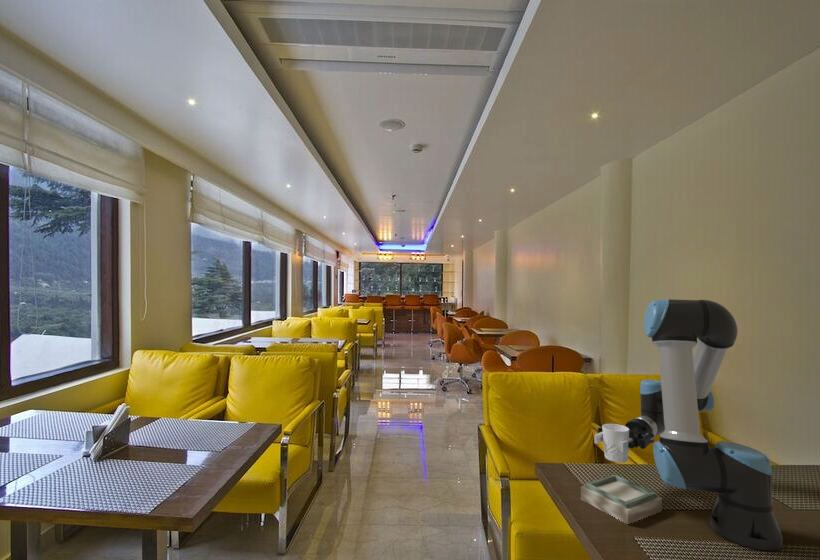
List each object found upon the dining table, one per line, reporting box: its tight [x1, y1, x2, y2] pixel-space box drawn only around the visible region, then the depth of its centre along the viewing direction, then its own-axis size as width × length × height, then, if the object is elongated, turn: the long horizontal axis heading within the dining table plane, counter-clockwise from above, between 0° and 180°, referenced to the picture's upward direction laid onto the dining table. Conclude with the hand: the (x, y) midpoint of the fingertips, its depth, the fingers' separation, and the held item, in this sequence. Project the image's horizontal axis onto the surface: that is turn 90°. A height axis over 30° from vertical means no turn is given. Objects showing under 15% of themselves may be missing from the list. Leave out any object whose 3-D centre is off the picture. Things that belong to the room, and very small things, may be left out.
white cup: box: [601, 423, 630, 464], centre depth 129 cm, size 8×8×10 cm
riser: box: [580, 474, 663, 525], centre depth 124 cm, size 16×16×5 cm
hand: (608, 443), depth 126 cm, fingers closed on white cup, 8 cm apart
